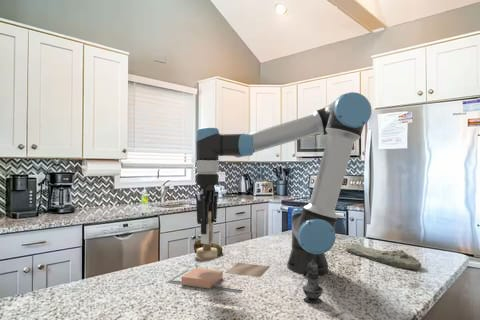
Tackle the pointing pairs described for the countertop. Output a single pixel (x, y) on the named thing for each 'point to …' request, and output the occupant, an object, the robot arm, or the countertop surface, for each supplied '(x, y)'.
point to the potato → (219, 248)
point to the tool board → (248, 269)
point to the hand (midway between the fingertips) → (207, 242)
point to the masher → (207, 246)
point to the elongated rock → (386, 256)
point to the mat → (210, 288)
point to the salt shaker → (312, 285)
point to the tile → (202, 278)
